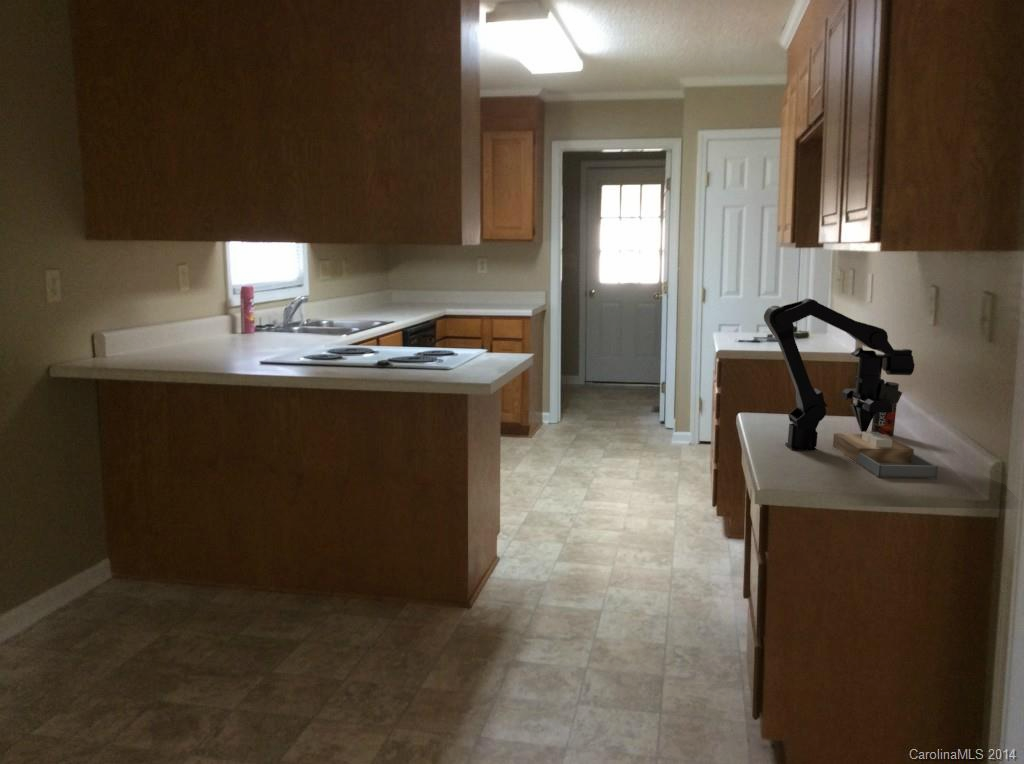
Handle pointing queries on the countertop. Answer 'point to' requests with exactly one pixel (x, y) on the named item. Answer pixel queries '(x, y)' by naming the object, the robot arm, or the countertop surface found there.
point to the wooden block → (872, 449)
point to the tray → (899, 468)
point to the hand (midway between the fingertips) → (863, 432)
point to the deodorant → (885, 418)
